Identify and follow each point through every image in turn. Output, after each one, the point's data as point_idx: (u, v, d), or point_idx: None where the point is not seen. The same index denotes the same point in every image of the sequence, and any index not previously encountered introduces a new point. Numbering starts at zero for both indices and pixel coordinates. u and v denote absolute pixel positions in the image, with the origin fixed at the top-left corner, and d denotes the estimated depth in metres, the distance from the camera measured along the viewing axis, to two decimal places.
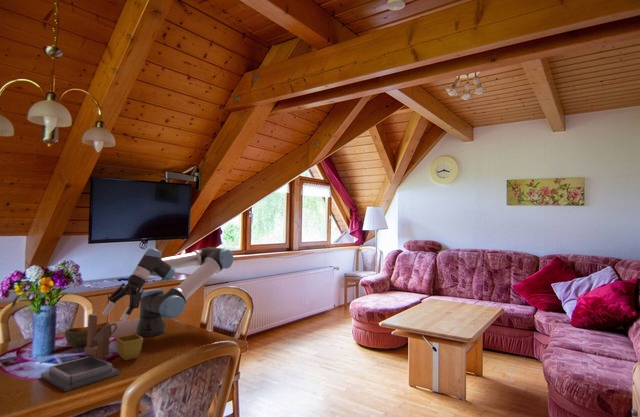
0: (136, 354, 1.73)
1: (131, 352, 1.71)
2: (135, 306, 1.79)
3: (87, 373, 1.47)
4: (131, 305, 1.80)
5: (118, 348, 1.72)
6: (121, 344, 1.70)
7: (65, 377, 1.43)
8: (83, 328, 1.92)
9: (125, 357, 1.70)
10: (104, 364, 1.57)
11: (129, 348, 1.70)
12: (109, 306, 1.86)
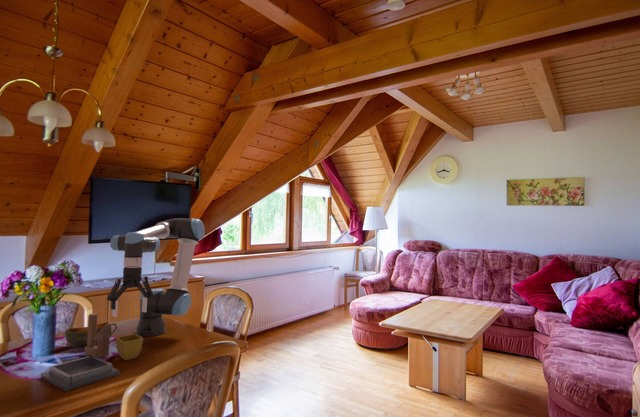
0: (136, 354, 1.73)
1: (131, 352, 1.71)
2: (152, 294, 1.83)
3: (87, 373, 1.47)
4: None
5: (118, 348, 1.72)
6: (121, 344, 1.70)
7: (65, 377, 1.43)
8: (83, 328, 1.92)
9: (125, 357, 1.70)
10: (104, 364, 1.57)
11: (129, 348, 1.70)
12: None
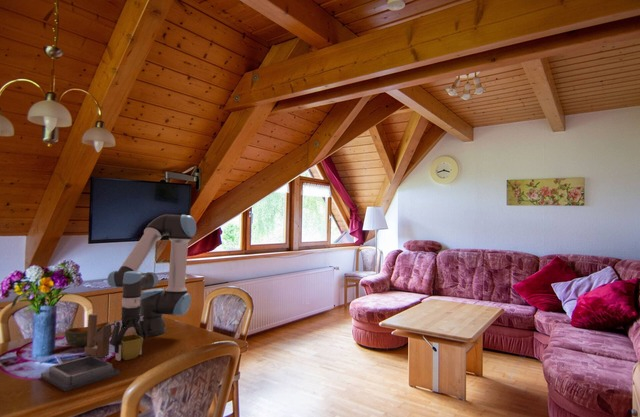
0: (136, 354, 1.73)
1: (131, 352, 1.71)
2: None
3: (87, 373, 1.47)
4: None
5: None
6: (121, 344, 1.70)
7: (65, 377, 1.43)
8: (83, 328, 1.92)
9: (125, 357, 1.70)
10: (104, 364, 1.57)
11: (129, 348, 1.70)
12: None
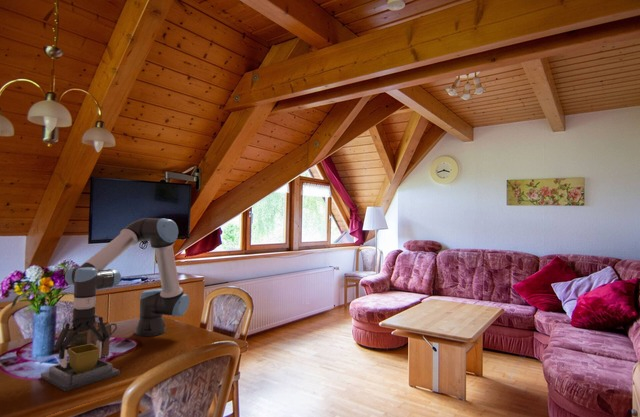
0: (91, 367, 1.54)
1: (85, 365, 1.52)
2: None
3: (87, 373, 1.47)
4: (104, 339, 1.60)
5: (70, 360, 1.52)
6: (73, 356, 1.50)
7: (65, 377, 1.43)
8: None
9: (78, 371, 1.50)
10: (104, 364, 1.57)
11: (83, 360, 1.51)
12: None
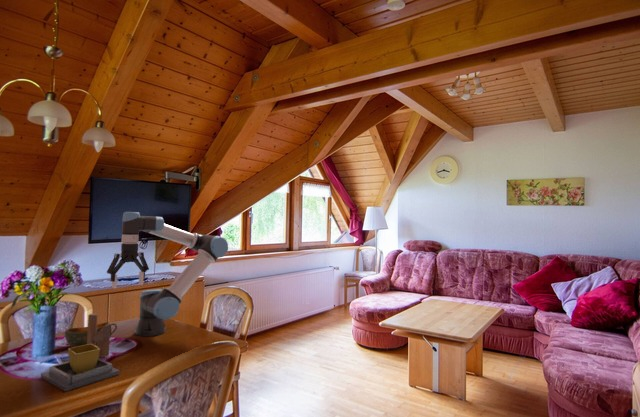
0: (91, 367, 1.54)
1: (85, 365, 1.52)
2: None
3: (87, 373, 1.47)
4: (145, 270, 1.97)
5: (70, 360, 1.52)
6: (73, 356, 1.50)
7: (65, 377, 1.43)
8: (83, 328, 1.92)
9: (78, 371, 1.50)
10: (104, 364, 1.57)
11: (83, 360, 1.51)
12: None
